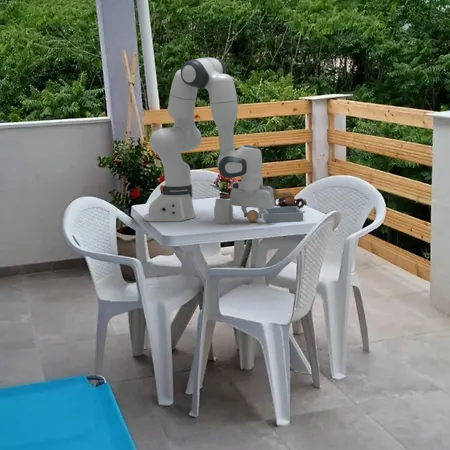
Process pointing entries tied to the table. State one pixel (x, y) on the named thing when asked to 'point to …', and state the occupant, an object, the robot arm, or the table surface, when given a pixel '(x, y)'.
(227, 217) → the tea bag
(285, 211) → the gray square tray
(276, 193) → the lion figurine
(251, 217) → the rubber ball
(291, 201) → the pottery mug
